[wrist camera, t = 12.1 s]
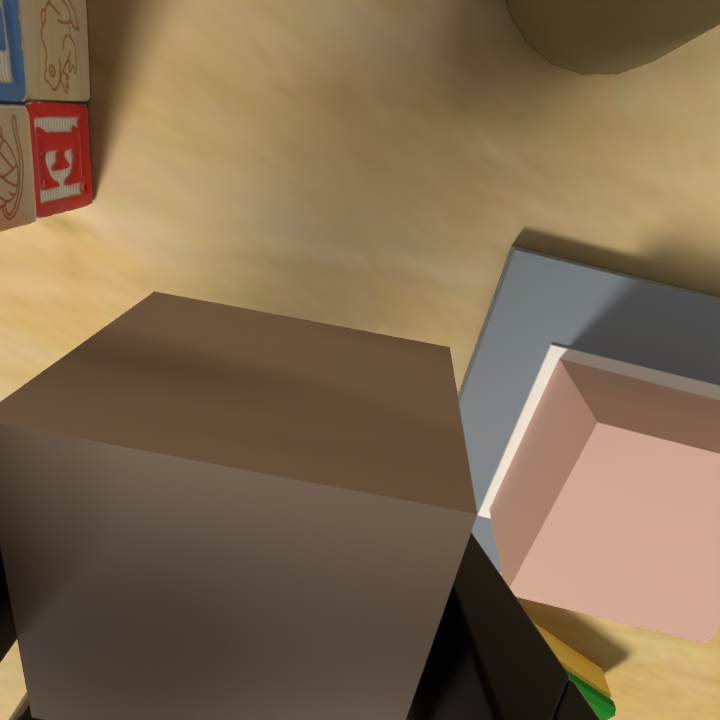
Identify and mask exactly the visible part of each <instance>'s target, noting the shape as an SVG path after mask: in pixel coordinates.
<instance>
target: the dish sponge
mask: <svg viewBox="0 0 720 720" xmlns="http://www.w3.org/2000/svg"><path fill="white" fill-rule="evenodd" d="M533 623H534V622H533ZM534 624H535V626H536V627H537V628H538V630H539V631H540V633H541V634H542V636H543V637H544V639H545V640H546V642H547V643H548V645H549V646H550V647H551V649H552V650H553V652H554V653H555V655H556V656H557V658H558V659H559V661H560V662H561V663H562V665H563V666H564V668H565V669H566V671H567V672H568V674H569V675H570V679H569V681H570V680H572V681H574V682H575V684H576V685H577V687H578V688H579V689H580V691H581V692H582V694H583V695H584V697H585V698H586V700H587V701H588V703H589V704H590V705H591V707H592V708H593V710H594V711H595V712H596V714H597V715H598V717H599V718H600V719H601V720H607V719H609V718H611V717H613V716H615V711H616V708H615V705H614V702H613V701H612V700H611V699H610V698H611V694H610V691H609V688H608V685H607V682H606V679H605V676H604V673H603V670H602V668H600V667H599V666H597V665H596V664H594V663H593V662H591V661H590V660H588V659H587V658H585V657H584V656H583V655H581V654H580V653H578V652H577V651H575V650H574V649H572V648H571V647H569V646H568V645H566V644H565V643H563V642H562V641H561V640H559V639H558V638H556V637H555V636H553V635H552V634H550V633H549V632H547V631H546V630H544V629H543V628H541V627H540V626H539V625H537V624H536V623H534Z"/></svg>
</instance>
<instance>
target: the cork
mask: <svg viewBox="0 0 720 720" xmlns="http://www.w3.org/2000/svg"><path fill="white" fill-rule="evenodd" d="M506 2H507V7H508V10H509V12H510V14H511V15H512V17H513V19H514V21H515V23H516V25H517V26H518V28H519V30H520V32H521V34H522V35H523V37H524V39H525V41H526V42H527V43H528V44H530V45H531V46H532V47H533V48H534V49H535V50H537V51H538V52H539V53H540V54H541V55H542V56H543V57H545V58H546V59H547V60H548V61H549V62H550V63H552V64H555V65H557V66H560V67H563V68H566V69H569V70H572V71H575V72H577V73H580V74H618V73H621V72H624V71H627V70H630V69H632V68H635V67H638V66H641V65H643V64H646V63H649V62H652V61H655V60H656V59H658V58H660V57H662V56H663V55H665V54H667V53H669V52H671V51H672V50H674V49H676V48H678V47H680V46H681V45H683V44H685V43H687V42H688V41H690V40H692V39H694V38H696V37H697V36H699V35H701V34H703V33H705V32H706V31H708V30H710V29H712V28H713V27H715V26H717V25H719V24H720V0H506Z"/></svg>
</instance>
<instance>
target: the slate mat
mask: <svg viewBox="0 0 720 720" xmlns="http://www.w3.org/2000/svg"><path fill="white" fill-rule="evenodd" d="M559 358H560V359H563V360H567V361H571V362H575V363H579V364H583V365H586V366H590V367H594V368H598V369H602V370H606V371H609V372H613V373H617V374H621V375H625V376H629V377H632V378H636V379H640V380H644V381H648V382H652V383H655V384H659V385H663V386H667V387H671V388H675V389H678V390H682V391H686V392H690V393H694V394H698V395H701V396H705V397H709V398H713V399H717V400H720V297H716V296H712V295H708V294H704V293H700V292H696V291H692V290H688V289H684V288H680V287H676V286H672V285H668V284H664V283H660V282H656V281H652V280H648V279H644V278H640V277H636V276H632V275H628V274H624V273H620V272H616V271H612V270H608V269H604V268H600V267H596V266H592V265H588V264H584V263H580V262H576V261H572V260H568V259H564V258H560V257H556V256H552V255H548V254H544V253H540V252H536V251H532V250H528V249H524V248H520V247H516V246H511V249H510V252H509V255H508V258H507V260H506V263H505V266H504V269H503V271H502V274H501V277H500V280H499V282H498V285H497V288H496V291H495V294H494V296H493V299H492V302H491V305H490V307H489V310H488V313H487V316H486V319H485V321H484V324H483V327H482V330H481V332H480V335H479V338H478V341H477V344H476V346H475V349H474V352H473V355H472V357H471V360H470V363H469V366H468V369H467V371H466V374H465V377H464V380H463V382H462V385H461V388H460V391H459V394H458V401H459V407H460V413H461V419H462V425H463V431H464V436H465V442H466V448H467V454H468V460H469V466H470V472H471V478H472V484H473V490H474V496H475V502H476V508H477V517H476V520H475V523H474V526H473V528H472V531H471V532H472V534H473V535H474V537H475V538H476V539H477V541H478V542H479V544H480V545H481V547H482V548H483V550H484V551H485V553H486V554H487V556H488V557H489V558H490V560H491V561H492V563H493V564H494V566H495V567H496V569H497V570H498V572H502V571H501V566H500V561H499V556H498V551H497V546H496V541H495V536H494V531H493V526H492V521H491V516H490V511H489V509H490V507H491V504H492V502H493V500H494V498H495V496H496V494H497V491H498V489H499V487H500V485H501V483H502V481H503V478H504V476H505V474H506V472H507V470H508V468H509V466H510V463H511V461H512V459H513V457H514V455H515V453H516V450H517V448H518V446H519V444H520V442H521V440H522V437H523V435H524V433H525V431H526V429H527V427H528V424H529V422H530V420H531V418H532V416H533V414H534V411H535V409H536V407H537V405H538V403H539V401H540V398H541V396H542V394H543V392H544V390H545V388H546V385H547V383H548V381H549V379H550V377H551V375H552V372H553V370H554V368H555V366H556V364H557V362H558V359H559Z"/></svg>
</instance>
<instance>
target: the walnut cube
mask: <svg viewBox="0 0 720 720" xmlns="http://www.w3.org/2000/svg"><path fill="white" fill-rule="evenodd" d="M476 517H477V508H476V502H475V496H474V490H473V484H472V478H471V472H470V466H469V460H468V454H467V448H466V442H465V436H464V431H463V425H462V419H461V413H460V407H459V401H458V395H457V389H456V383H455V377H454V371H453V365H452V359H451V353H450V347H445V346H440V345H435V344H429V343H424V342H419V341H414V340H408V339H403V338H398V337H392V336H387V335H382V334H376V333H371V332H366V331H361V330H355V329H350V328H345V327H339V326H334V325H329V324H323V323H318V322H313V321H308V320H302V319H297V318H292V317H286V316H281V315H276V314H270V313H265V312H260V311H255V310H249V309H244V308H239V307H233V306H228V305H223V304H217V303H212V302H207V301H202V300H196V299H191V298H186V297H180V296H175V295H170V294H164V293H159V292H153V293H152V294H150V295H149V296H148V297H146V298H145V299H143V300H142V301H141V302H139V303H138V304H136V305H135V306H134V307H132V308H131V309H129V310H128V311H127V312H125V313H124V314H123V315H121V316H120V317H118V318H117V319H116V320H114V321H113V322H111V323H110V324H109V325H107V326H106V327H104V328H103V329H102V330H100V331H99V332H97V333H96V334H95V335H93V336H92V337H90V338H89V339H88V340H86V341H85V342H83V343H82V344H81V345H79V346H78V347H76V348H75V349H74V350H72V351H71V352H69V353H68V354H67V355H65V356H64V357H63V358H61V359H60V360H58V361H57V362H56V363H54V364H53V365H51V366H50V367H49V368H47V369H46V370H44V371H43V372H42V373H40V374H39V375H37V376H36V377H35V378H33V379H32V380H30V381H29V382H28V383H26V384H25V385H23V386H22V387H21V388H19V389H18V390H16V391H15V392H14V393H12V394H11V395H9V396H8V397H7V398H5V399H4V400H2V401H1V402H0V548H1V553H2V558H3V564H4V569H5V575H6V580H7V586H8V591H9V596H10V602H11V607H12V613H13V618H14V624H15V629H16V634H17V640H18V645H19V651H20V656H21V661H22V667H23V672H24V678H25V683H26V689H27V694H28V699H29V705H30V710H31V716H32V718H38V719H43V720H406V718H407V715H408V712H409V709H410V706H411V704H412V701H413V698H414V695H415V692H416V689H417V686H418V683H419V681H420V678H421V675H422V672H423V669H424V666H425V663H426V661H427V658H428V655H429V652H430V649H431V646H432V643H433V640H434V638H435V635H436V632H437V629H438V626H439V623H440V620H441V617H442V615H443V612H444V609H445V606H446V603H447V600H448V597H449V594H450V592H451V589H452V586H453V583H454V580H455V577H456V574H457V572H458V569H459V566H460V563H461V560H462V557H463V554H464V551H465V549H466V546H467V543H468V540H469V537H470V534H471V531H472V528H473V526H474V523H475V520H476Z"/></svg>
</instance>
